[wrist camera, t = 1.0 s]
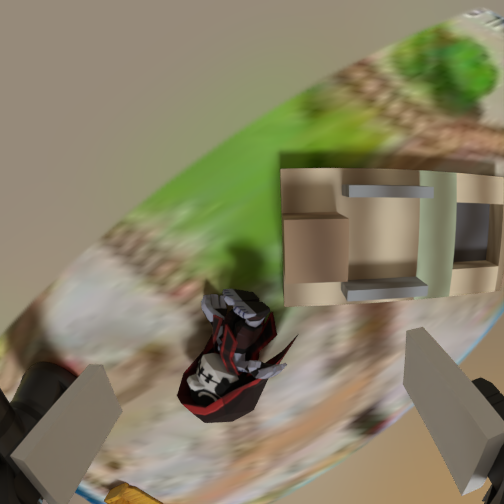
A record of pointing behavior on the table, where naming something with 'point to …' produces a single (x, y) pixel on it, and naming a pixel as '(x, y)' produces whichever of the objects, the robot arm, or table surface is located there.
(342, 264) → the block
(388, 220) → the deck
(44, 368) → the robot arm
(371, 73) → the table surface
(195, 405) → the toy
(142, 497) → the dollhouse swing
